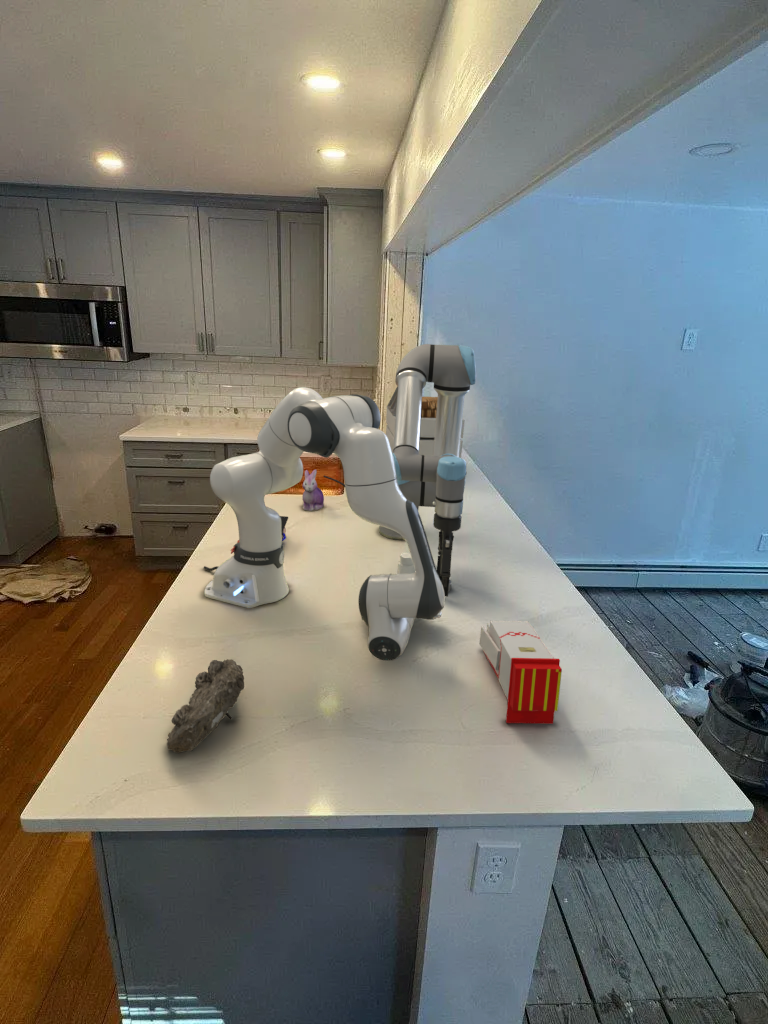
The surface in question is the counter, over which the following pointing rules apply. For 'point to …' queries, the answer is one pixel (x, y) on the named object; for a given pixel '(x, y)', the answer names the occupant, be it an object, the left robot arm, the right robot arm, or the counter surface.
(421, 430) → the grey tall slatted box
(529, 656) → the toy
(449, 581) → the lid
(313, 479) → the figurine
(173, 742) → the fossil
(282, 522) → the figurine character
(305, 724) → the counter surface
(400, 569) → the jar
